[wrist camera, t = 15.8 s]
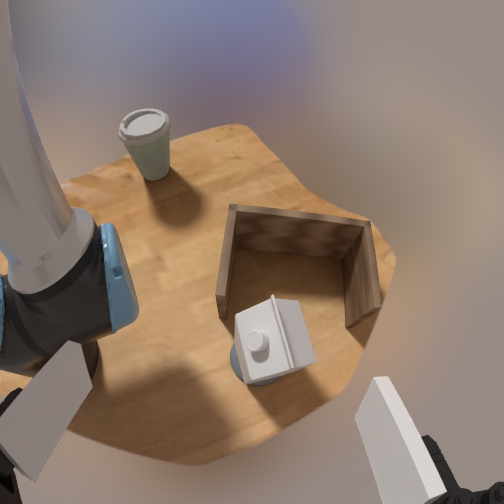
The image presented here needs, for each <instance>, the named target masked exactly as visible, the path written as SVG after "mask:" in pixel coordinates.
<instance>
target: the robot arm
mask: <svg viewBox="0 0 504 504" xmlns="http://www.w3.org/2000/svg"><path fill="white" fill-rule="evenodd" d="M0 250H1V251H2V253H3V254H4V255H5V257H6V258H7V259H8V274H6V275H1V274H0V370H4V371H8V372H11V373H15V374H19V375H23V376H28V377H32V378H33V379H32V380H31V381H30V382H29V383H28V385H27V386H26V387H25V388H24V389H21V388H17V389H16V390H14V391H12V392H10V393H9V395H8V396H7V397H6V398H5V399H4V402H2V403H1V404H0V504H22V501H21V498H20V494H19V489H18V485H17V480H16V476H15V473H14V471H13V469H14V467H16V469H18V471H19V472H20V473H21V474H23V475H24V476H26V477H27V478H29V479H30V480H32V481H33V482H36V480H37V478H38V476H39V474H40V473H41V471H42V469H43V467H44V465H45V464H46V462H47V460H48V458H49V457H50V455H51V453H52V451H53V450H54V448H55V446H56V445H57V443H58V441H59V440H60V438H61V436H62V435H63V433H64V431H65V430H66V428H67V427H68V425H69V423H70V422H71V420H72V418H73V417H74V415H75V414H76V412H77V411H78V409H79V407H80V406H81V404H82V403H83V401H84V400H85V398H86V397H87V395H88V394H89V392H90V390H91V389H92V387H93V386H92V383H91V378H92V376H93V374H94V372H95V369H96V365H97V358H98V350H97V343H96V340H97V339H100V338H102V337H105V336H107V335H110V334H115V333H116V331H117V330H119V329H121V328H123V327H125V326H127V325H129V324H131V323H133V322H134V321H135V320H136V319H137V317H138V313H139V305H138V300H137V296H136V292H135V289H134V285H133V281H132V278H131V274H130V271H129V268H128V264H127V261H126V258H125V254H124V251H123V248H122V245H121V242H120V239H119V236H118V233H117V230H116V228H115V227H114V225H113V224H112V223H107V224H104V223H103V224H101V225H100V226H99V227H97V225H96V223H95V221H94V219H93V217H92V216H91V214H90V213H89V212H88V211H87V210H85V209H83V208H78V207H72V206H70V204H69V202H68V200H67V198H66V196H65V194H64V192H63V190H62V188H61V186H60V184H59V182H58V180H57V178H56V175H55V173H54V171H53V169H52V166H51V164H50V162H49V159H48V157H47V154H46V152H45V150H44V147H43V145H42V142H41V140H40V137H39V134H38V132H37V129H36V126H35V123H34V120H33V117H32V114H31V111H30V108H29V105H28V102H27V98H26V95H25V92H24V88H23V84H22V81H21V77H20V73H19V69H18V64H17V60H16V55H15V50H14V45H13V39H12V33H11V26H10V19H9V8H8V0H0ZM355 420H356V423H357V426H358V429H359V432H360V434H361V437H362V440H363V443H364V446H365V449H366V452H367V455H368V458H369V461H370V464H371V468H372V471H373V474H374V477H375V480H376V483H377V487H378V490H379V493H380V496H381V500H382V503H383V504H504V482H497V483H495V484H494V485H493V486H492V487H490V489H488V490H484V491H478V492H471V491H470V490H468V489H464V488H460V487H459V486H458V484H457V482H456V480H455V478H454V476H453V474H452V472H451V470H450V468H449V466H448V464H447V462H446V461H445V460H444V459H445V458H444V456H443V454H442V453H441V450H440V449H439V447H438V445H437V443H436V442H435V441H434V440H433V439H432V438H431V437H430V436H429V435H426V436H422V437H421V436H420V435H419V433H418V431H417V429H416V427H415V425H414V423H413V421H412V419H411V417H410V416H409V414H408V412H407V410H406V408H405V406H404V404H403V403H402V401H401V399H400V397H399V395H398V394H397V392H396V390H395V388H394V386H393V385H392V383H391V381H390V379H389V378H388V376H384V377H374V378H373V379H372V382H371V384H370V386H369V388H368V391H367V393H366V395H365V397H364V399H363V401H362V403H361V405H360V407H359V409H358V411H357V413H356V415H355Z"/></svg>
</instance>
